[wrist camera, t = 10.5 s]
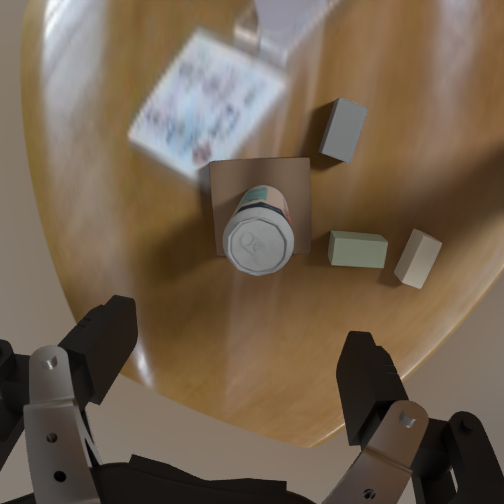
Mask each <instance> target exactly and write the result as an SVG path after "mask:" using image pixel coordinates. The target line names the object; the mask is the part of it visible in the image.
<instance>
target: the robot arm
mask: <svg viewBox="0 0 504 504" xmlns="http://www.w3.org/2000/svg"><path fill="white" fill-rule="evenodd" d="M137 338H138V329H137V318H136V305H135V301H134V299H133V298H128V297H123V296H119V295H114V296H113V297H112V298H111V299H110V300H109V301H108V302H107V303H106V304H105V305H99V306H97V307H95V308H94V309H92V310H90V311H89V312H88V313H87V314H86V315H85V316H84V317H83V319H81V320H80V322H79V323H78V324H77V326H75V327H74V328H73V329H72V330H71V331H70V332H69V333H68V334H67V336H66V337H65V338H64V339H63V340H62V341H61V342H60V343H59V344H58V345H57V346H52V345H50V346H44V347H41V348H39V349H37V350H36V351H34V352H33V354H32V355H31V356H28V355H20V354H14V352H13V349H12V347H11V344H10V343H9V342H8V341H6V340H1V339H0V471H1V469H2V467H3V465H4V464H5V462H6V460H7V458H8V456H9V455H10V453H11V451H12V449H13V447H14V446H15V444H16V442H17V440H18V439H19V437H20V435H21V434H22V432H23V430H24V429H25V438H26V447H27V455H28V462H29V469H30V474H31V480H32V485H33V490H34V492H33V493H31V494H28V495H25V496H22V497H20V498H17V499H14V500H11V501H8V502H5V503H1V504H316V503H314V502H313V501H311V500H309V499H308V498H306V497H304V496H301V495H299V494H296V493H294V492H290V491H287V490H286V484H287V482H286V481H276V480H262V479H252V478H244V479H231V480H212V481H209V480H203V479H200V478H198V477H196V476H193V475H191V474H189V473H186V472H184V471H182V470H180V469H178V468H176V467H173V466H171V465H169V464H166V463H162V462H159V461H155V460H151V459H148V458H144V457H141V456H137V455H134V454H132V457H131V459H130V461H129V463H126V462H119V463H118V462H117V463H108V464H103V463H102V460H101V458H100V456H99V453H98V450H97V447H96V444H95V441H94V437H93V433H92V430H91V426H90V423H89V419H88V415H87V411H86V408H85V407H86V405H87V403H88V402H92V403H95V404H98V405H100V404H101V402H102V401H103V399H104V397H105V395H106V394H107V392H108V390H109V389H110V387H111V385H112V384H113V382H114V380H115V379H116V377H117V375H118V374H119V372H120V370H121V369H122V367H123V365H124V364H125V362H126V361H127V359H128V357H129V356H130V354H131V352H132V351H133V349H134V348H135V345H136V343H137ZM336 378H337V383H338V388H339V393H340V398H341V403H342V409H343V414H344V419H345V425H346V430H347V435H348V441H349V446H353V445H360V446H361V452H360V454H359V455H358V457H357V458H356V459H355V461H354V462H353V464H352V465H351V466H350V468H349V469H348V471H347V472H346V473H345V475H344V476H343V477H342V479H341V480H340V481H339V483H338V484H337V485H336V486H335V488H334V489H333V490H332V491H331V493H330V494H329V495H328V496H327V497H326V498H325V500H324V501H323V502H322V503H321V504H397V502H398V500H399V499H400V497H401V495H402V493H403V491H404V489H405V487H406V485H407V483H408V481H409V479H410V477H412V482H413V488H414V493H415V498H416V504H504V476H503V473H502V471H501V468H500V465H499V463H498V460H497V458H496V455H495V453H494V451H493V448H492V446H491V443H490V441H489V439H488V436H487V434H486V432H485V430H484V427H483V425H482V423H481V421H480V420H479V419H478V418H477V417H476V416H475V415H473V414H471V413H469V412H464V411H460V412H457V413H455V414H454V415H453V416H452V417H451V419H450V420H449V421H442V420H437V419H431V418H429V417H428V414H427V412H426V411H425V409H424V408H423V407H422V406H420V405H419V404H417V403H415V402H413V401H409V399H408V396H407V394H406V391H405V389H404V387H403V384H402V382H401V379H400V377H399V375H398V374H397V370H396V368H395V366H394V363H393V361H392V359H391V357H390V355H389V354H388V353H387V352H386V351H385V350H384V349H383V348H382V347H381V346H376V344H375V342H374V340H373V337H372V335H371V333H370V332H361V331H350V332H349V333H348V335H347V338H346V341H345V344H344V347H343V350H342V352H341V355H340V358H339V361H338V364H337V369H336ZM452 468H453V470H454V474H455V477H456V481H457V485H458V490H457V493H456V490H455V486H454V482H453V479H452V475H451V472H450V470H451V469H452Z"/></svg>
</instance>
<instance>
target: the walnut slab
mask: <svg viewBox="0 0 504 504" xmlns="http://www.w3.org/2000/svg"><path fill="white" fill-rule="evenodd" d="M209 170H210V184H211V196H212V208H213V219H214V230H215V241H216V251H217V256H226V254H225V252H224V248H223V234H224V230H225V228H226V226H227V224H228V222H229V221H230V219H231V217H232V215H233V213H234V211H235V210H236V208H237V206H238V204H239V202H240V201H241V199H242V197H243V196H244V194H245V193H246V192H247V191H248V190H249V189H251V188H253V187H255V186H260V185H266V186H271V187H273V188H275V189H277V190H278V191H280V192H281V193H282V195H283V196H284V198H285V200H286V202H287V206H288V211H289V216H290V220H291V225H292V230H293V235H294V249H293V252H292V254H311V184H310V158H309V157H282V158H255V159H236V160H221V161H212V162H209Z"/></svg>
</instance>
